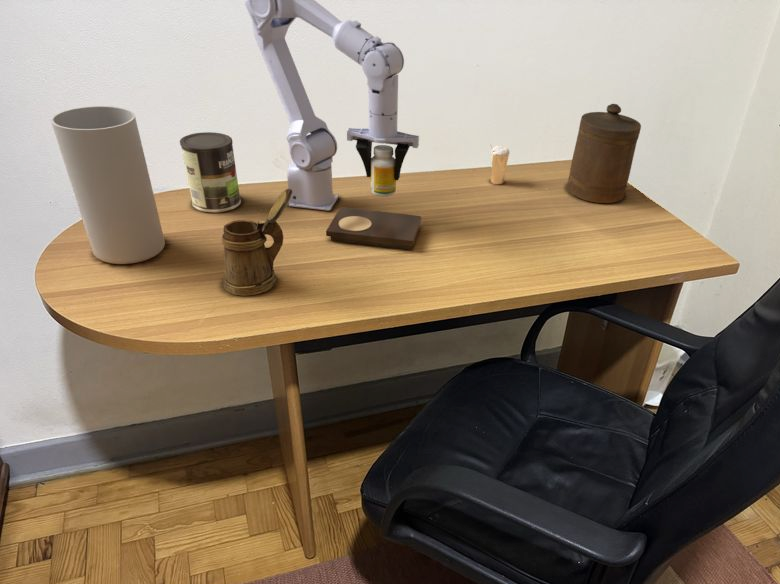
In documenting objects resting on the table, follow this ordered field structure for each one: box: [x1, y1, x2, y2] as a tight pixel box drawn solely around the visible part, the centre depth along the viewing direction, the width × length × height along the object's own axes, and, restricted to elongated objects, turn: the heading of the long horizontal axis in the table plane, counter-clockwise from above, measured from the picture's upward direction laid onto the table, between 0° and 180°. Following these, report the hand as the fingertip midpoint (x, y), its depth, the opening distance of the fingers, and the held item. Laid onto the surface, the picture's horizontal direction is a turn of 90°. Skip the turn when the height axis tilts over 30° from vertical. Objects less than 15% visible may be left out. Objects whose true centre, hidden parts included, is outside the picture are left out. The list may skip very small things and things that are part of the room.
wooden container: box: [566, 103, 642, 204], centre depth 155 cm, size 15×15×22 cm
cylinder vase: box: [50, 105, 166, 265], centre depth 112 cm, size 12×12×25 cm
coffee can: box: [179, 131, 242, 213], centre depth 135 cm, size 10×10×14 cm
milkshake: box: [489, 144, 510, 185], centre depth 159 cm, size 5×5×10 cm
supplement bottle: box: [369, 144, 397, 198], centre depth 131 cm, size 5×5×10 cm
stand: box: [325, 206, 423, 251], centre depth 133 cm, size 18×12×3 cm, turn 85°
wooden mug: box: [221, 188, 293, 297], centre depth 109 cm, size 9×14×18 cm, turn 103°
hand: (383, 177), depth 132 cm, fingers closed on supplement bottle, 5 cm apart
